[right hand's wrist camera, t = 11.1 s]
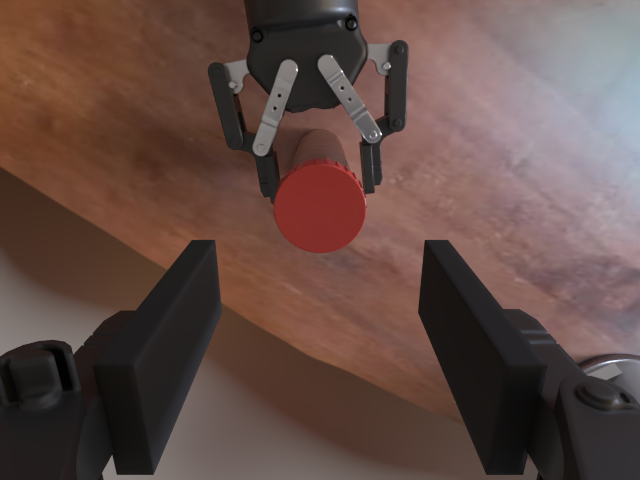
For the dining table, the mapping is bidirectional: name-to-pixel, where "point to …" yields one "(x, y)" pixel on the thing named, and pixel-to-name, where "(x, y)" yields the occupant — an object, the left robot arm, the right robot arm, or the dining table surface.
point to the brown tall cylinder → (319, 148)
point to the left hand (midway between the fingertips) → (323, 195)
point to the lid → (319, 206)
